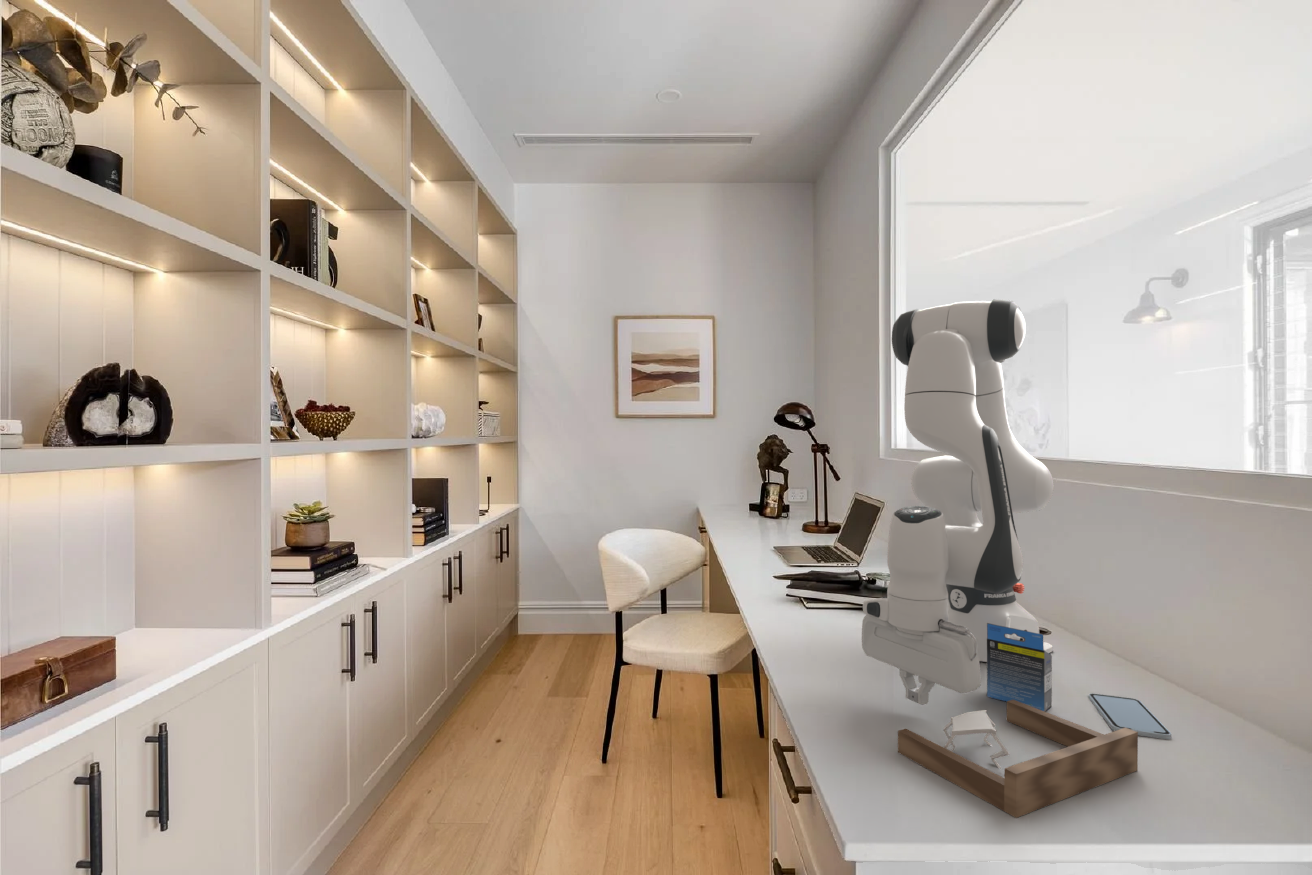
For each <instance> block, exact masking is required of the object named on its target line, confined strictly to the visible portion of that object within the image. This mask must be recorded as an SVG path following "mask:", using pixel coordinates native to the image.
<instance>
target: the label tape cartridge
mask: <svg viewBox="0 0 1312 875" xmlns="http://www.w3.org/2000/svg"><path fill="white" fill-rule="evenodd" d="M1005 634H1009V635H1012V634H1016V635H1017V636H1018V637H1022V638H1023V639H1024V640H1023V641H1020V640H1016V639H1011V638H1006V637H1005ZM1043 641H1044V634H1043V633H1039V634H1038V633H1033V632H1028V631H1023V630H1019V629H1014V628H1009V627H1004V626H999V625H994V624H990V623H987V662H986V695H987V698H990V697H991V698H990V699H994V700H998V701H1001V702H1005V701H1006V703H1007V701H1009V700H1016V701H1018V702H1021V703H1024V704H1026V705H1029V706H1031V707H1034V708H1037V709H1039V710H1042V711H1044V712H1047V711H1048V710H1050V709H1051V707H1052V705H1053V704H1052V701H1053V700H1052V699H1053V690H1052V689H1053V672H1052V671H1053V670H1052V669H1053V662H1052V661H1053V660H1052V659H1053V658H1052V657H1053V656H1052V654H1051V653H1047V652H1046V651H1045V650H1044V646H1043Z"/></svg>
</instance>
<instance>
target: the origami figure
mask: <svg viewBox="0 0 1312 875" xmlns="http://www.w3.org/2000/svg"><path fill="white" fill-rule="evenodd" d="M987 713H988V710H985V709H981V710H974V711H967V712H964V713H963V712H962V713H961V714H958V715H956V716H951V717H950V722H948V723H947V724H946V725H945V726H944V727H943V730H942V731H943V732H944V734H945V736H946V738H947V739H948V741H947V742H946V744H945V745H944V746H943V747H944V748H946V749H949V747H950V745H951V746H952V749H951V750H950V751H952V752H954V751H955V749H956V746H955V744H954V742H953V740H954V738H955V737H956V736H964V735H972V734H985V736H984V738H983V741H984V742H985V743H986V744H987V745H988V746H989V745H991V744H992V743H990V742H989V741H988V740H987V739H988V738H989V736H990V735H991V736H992V738H993V739H994V740H995V741H996V743H997V744H998V746H999V747H1000V749H1001V750H1000V751H998V752H996V753H994V754H991V755H990V756H989V757H990V759H991V761H992V762H993V763H994V764H995V766H996V767H997V768H998V769H999V768H1000V769H999V770H1002V769H1001V768H1002V766H1001V765H1000V764H999V763H998V761H997V760H996V759H998V758H1004V757H1006V756H1007V757H1008V756H1010V753H1009V751H1008V749H1007V748H1006V747H1005V746H1004V745H1003V743H1002V741H1001V740H1000V738H999V737H998V736H997V732H998V731H997V730H996V728H995V727H996V724H995V723H994V721H993V720H992V719H991V718H990V716H989V715H988V714H987ZM950 727H952V728H951V729H952V730H951V734H950V733H949V731H948V729H949V728H950ZM1000 766H1001V767H1000Z"/></svg>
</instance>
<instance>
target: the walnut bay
mask: <svg viewBox="0 0 1312 875" xmlns="http://www.w3.org/2000/svg"><path fill="white" fill-rule="evenodd" d="M1006 722H1008V723H1011V724H1013V725H1015V724H1016V726H1017V725H1018V726H1017V727H1020V728H1022V727H1023V728H1022V729H1025V730H1026V731H1027V730H1028V732H1029V731H1030V732H1031V733H1032V732H1033V733H1034V732H1035V733H1034V734H1036V735H1039V736H1042V737H1044V738H1046V739H1049V740H1051V741H1054V742H1056V743H1058V744H1061V745H1063V746H1064V748H1061V749H1058V750H1055V751H1052V752H1049V753H1046V754H1042V755H1040V756H1037V757H1034V758H1031V759H1028V760H1025V761H1021V762H1019V763H1016V764H1013V765H1010V766H1007V767H1005V768H1004V771H1003V772H1004V776H1003V777H1002V776H1001V775H999V774H997V773H995V772H993V771H991V770H989V769H987V768H985V767H983V766H981V765H980V764H977V763H975V762H973V761H971V760H969V759H967V758H965V757H963V756H961V755H959V754H958V753H955V752H954V751H953V752H952V751H951V750H949V748H947V749H946V748H944V746H942V745H940V744H937V743H936V742H934V741H932V740H930V739H927V738H925V737H924V736H921V735H919V734H918V733H916V732H914V731H912V730H910V729H908V728H903V729H899V730H897V753H898V754H900V755H902V756H904V757H905V758H907V759H909V760H911V761H912V762H914V763H916V764H918V765H920V766H921V767H923V768H925V769H927V770H928V771H931V772H933V773H934V774H937V775H938V776H940V777H941V778H943V779H945V780H947V781H948V782H951V783H952V784H954V785H956V786H958V787H959V788H961V789H963V790H965V791H967V792H969V793H970V794H972V795H974V796H975V797H977V798H980V800H983V801H985V802H987V803H988V804H990V805H992V806H994V807H995V808H997V809H999V810H1001V811H1003V812H1005V813H1007V814H1008V815H1010V816H1011V817H1013V818H1016V819H1017V818H1020V817H1023V816H1024V815H1027V814H1030V813H1032V812H1033V813H1034V812H1035V811H1037V809H1038V810H1040V809H1044V808H1045V806H1046V807H1047V806H1050V804H1051V805H1053V804H1056V803H1058V802H1061V801H1063V800H1066V799H1069V798H1071V797H1074V796H1076V795H1079V794H1081V793H1084V792H1087V791H1089V790H1092V789H1094V788H1096V787H1099V786H1102V785H1104V784H1106V783H1110V782H1112V781H1114V780H1116V779H1119V778H1121V777H1124V776H1127V775H1129V774H1133V773H1135V772H1138V769H1139V768H1138V765H1139V763H1138V759H1139V758H1138V756H1139V755H1138V754H1139V751H1138V750H1139V748H1138V746H1139V745H1138V744H1139V741H1138V740H1139V738H1138V737H1139V735H1138V732H1136V731H1133V730H1131V729H1128V728H1123V729H1120V730H1117V731H1114V730H1113V731H1111V732H1108V733H1105V734H1104V733H1101V732H1099V731H1096V730H1093V729H1091V728H1088V727H1086V726H1084V725H1080V724H1078V723H1076V722H1073V721H1070V720H1067V719H1064V718H1063V717H1059V716H1057V715H1055V714H1053V713H1049V712H1047V711H1045V712H1044V711H1042V710H1039V709H1037V708H1034V707H1031V706H1029V705H1026V704H1024V703H1021V702H1018V701H1016V700H1009V701H1007V702H1006ZM1065 746H1066V747H1065Z"/></svg>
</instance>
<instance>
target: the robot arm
mask: <svg viewBox="0 0 1312 875" xmlns="http://www.w3.org/2000/svg"><path fill="white" fill-rule="evenodd" d="M1026 327H1027V326H1026V320H1025V317H1024V315H1023V313H1022V310H1021V308H1020V306H1019V305H1018V304H1016V303H1015V302H1014V301H1013V300H1009V299H1008V300H1007V299H999V298H998V299H997V298H996V299H995V298H994V299H992V300H991V301H990V300H989V301H988V300H987V301H986V300H980V301H979V300H974V301H959V302H953V303H950V304H942V305H936V306H933V307H932V306H931V307H927V308H924V309H919V308H916V309H912V310H908V311H905V312H904V313H901V314H900V315H899V316H898V317H897V319H896V320H895V321H894V323H893V326H892V331H891V346H892V350H893V355H894V357H895V358H896V359H897V360H898V361H899V362H900V363H901V364H902V365H905V366H907V371H906V378H905V379H906V380H905V387H904V388H905V389H904V390H905V392H904V421H905V426H906V428H907V430H908V431H909V433H910V435H912V437H914V438H915V440H917V441H918V442H919V443H921V444H922V445H924V446H926V447H928V448H929V449H932V450H935V451H937V452H940V453H942V454H945V455H941V456H940V455H939V456H934V457H927V458H923V459H921V460H920V461H919V462H918V463H917V465H915V467H914V469H913V470H912V474H911V478H910V479H911V482H910V484H911V488H912V491H913V495H914V496H915V497H916V499H917V500H918V502H919V503H921V504H922V505H923V506H921V505H915V506H914V505H913V506H912V505H911V506H905V507H902V508H899V509H897V510H896V511H894V512H893V514H892V516H891V521H890V525H889V530H888V538H887V539H888V540H887V541H888V542H887V559H886V560H887V567H888V568H887V569H888V571H889V582H888V586H887V589H886V590H887V591H886V595H887V596H882V597H878V598H872V599H869V600H865V601H863V602H862V610H863V613H864V614H865V616H864V617H863V619H862V623H861V647H862V648H861V649H862V650H863V652H864V654H865V655H866V656H867V657H870V658H872V659H874V660H876V661H879V662H882V663H884V664H887V665H890V666H891V667H892V666H893V667H894V668H897V669H899V676H900V679H901V681H902V683H903V686H904V689H905V699H907V700H909V701H912V702H914V703H915V704H918V705H920V706H924V705H928V704H929V696H930V694H929V693H930V692H931V691H932V689H933V688H934V686H935V685H938V686H941V687H944V688H946V689H949V690H952V691H954V692H956V693H959V694H964V695H965V694H968V693H971V692H972V693H973V692H975V691H977V690H978V689H979V688H980V686H981V684H982V678H981V677H982V676H981V666H980V662H985V663H987V623H990V624H994V625H999V626H1004V627H1009V628H1014V629H1019V630H1023V631H1028V632H1033V633H1038V634H1040V628H1039V627H1040V625H1039V622H1038V620H1037V618H1035V617H1034V615H1032V614H1031V613H1030V612H1028V611H1027V610H1026V608H1024V607H1023V606H1022V605H1020V604H1019V603H1018V602H1017V597H1016V594H1015V593H1017V594H1020V595H1022V594H1023V593H1024V592H1025V585H1024V583H1019V582H1020V581H1021V580H1022V575H1023V569H1024V558H1023V557H1024V556H1023V551H1022V548H1021V546H1020V543H1019V538H1018V535H1017V530H1016V525H1015V521H1014V514H1023V513H1031V512H1038V511H1041V510H1043V509H1044V508H1045V507H1046V506H1047V505H1048V504H1049V503H1050V501H1051V499H1052V497H1053V494H1054V489H1055V486H1054V485H1055V484H1054V478H1053V475H1052V473H1051V471H1050V470H1049V468H1048V467H1047V466H1046V464H1044V463H1043V462H1042V461H1040V460H1038V459H1036V458H1035V457H1033V456H1032V455H1031V454H1030V453H1029V452H1028V451H1026V450H1025V449H1024V447H1022V446H1021V444H1020V443H1019V442H1018V441H1017V439H1016V437H1015V436H1014V434H1013V432H1012V430H1011V427H1010V424H1009V420H1008V414H1007V413H1008V412H1007V408H1006V400H1005V399H1006V398H1005V397H1006V396H1005V385H1004V375H1003V374H1004V373H1003V368H1002V363H1005V361H1006V360H1008V359H1010V358H1013V357H1014V356H1015V355H1016V354H1017V353H1018V352H1019V351H1021V348H1022V345H1023V342H1024V340H1025V337H1026V329H1027V328H1026ZM977 512H981V516H982V522H983V523H982V522H981V521H980V519H979V517H978V513H977ZM1005 637H1006V638H1011V639H1016V640H1020V641H1023V640H1024V639H1023V638H1022V637H1018V636H1017V635H1016V634H1012V635H1009V634H1005ZM1043 646H1044V650H1045V651H1046V652H1047V653H1049V654H1051V653H1052V652H1054V647H1053V645H1052V644H1050V643H1049V642H1046V641H1044V640H1043ZM914 676H917V679H918V680H917V681H918V683H919V684H920V686H919V687H918V686H917V683H916V679H915V677H914Z"/></svg>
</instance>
